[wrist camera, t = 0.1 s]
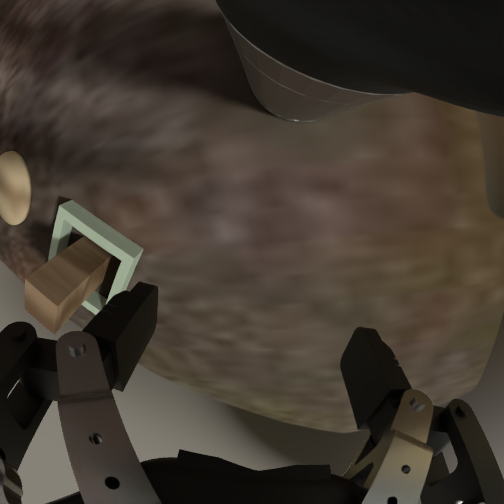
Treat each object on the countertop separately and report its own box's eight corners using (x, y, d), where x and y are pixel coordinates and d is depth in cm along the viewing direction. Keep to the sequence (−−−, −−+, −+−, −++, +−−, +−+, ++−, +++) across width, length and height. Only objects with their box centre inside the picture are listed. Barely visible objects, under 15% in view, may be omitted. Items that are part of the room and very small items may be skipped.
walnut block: (84, 236, 28) (25, 278, 18) (111, 255, 29) (57, 306, 19) (76, 263, 30) (24, 308, 20) (102, 281, 31) (54, 334, 21)
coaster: (-5, 149, 24) (-8, 150, 23) (33, 151, 24) (30, 152, 23) (-4, 217, 28) (-6, 218, 28) (33, 230, 28) (31, 231, 28)
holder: (72, 199, 26) (59, 205, 24) (143, 248, 28) (134, 258, 26) (56, 268, 31) (45, 276, 28) (116, 312, 33) (108, 323, 30)
